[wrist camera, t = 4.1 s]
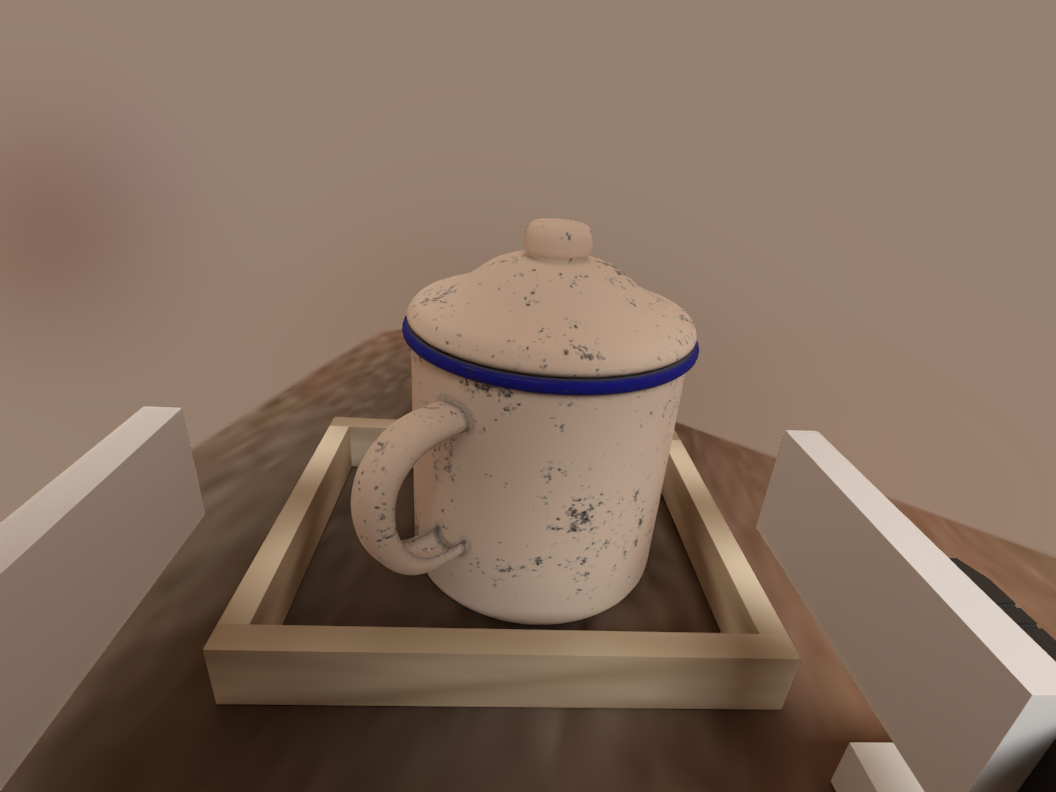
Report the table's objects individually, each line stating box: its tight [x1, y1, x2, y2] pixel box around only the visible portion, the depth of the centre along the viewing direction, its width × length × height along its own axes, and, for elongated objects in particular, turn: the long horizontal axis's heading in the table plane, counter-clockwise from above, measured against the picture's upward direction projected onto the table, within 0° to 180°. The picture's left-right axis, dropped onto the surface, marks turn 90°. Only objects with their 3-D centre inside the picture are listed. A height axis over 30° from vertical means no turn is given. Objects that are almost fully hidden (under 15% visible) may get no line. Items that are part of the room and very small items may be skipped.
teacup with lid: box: [351, 218, 699, 625], centre depth 18 cm, size 12×9×12 cm
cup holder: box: [203, 417, 801, 710], centre depth 20 cm, size 12×15×2 cm
